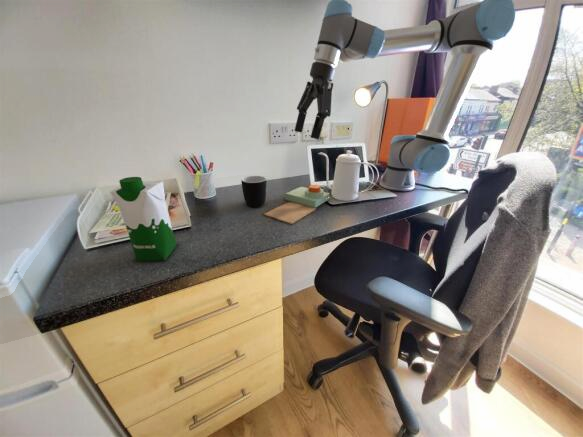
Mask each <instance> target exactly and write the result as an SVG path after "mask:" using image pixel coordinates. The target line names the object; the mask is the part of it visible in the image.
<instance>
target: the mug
mask: <svg viewBox="0 0 583 437" xmlns="http://www.w3.org/2000/svg"><path fill="white" fill-rule="evenodd" d="M240 183H241V189H242V194H243V197H244V202H245V204H246V206H247V207H248V208H252V209H259V208H261V207H263V206H264V205H265V203H266V197H267V178H266V177H265V176H262V175H247V176H244V177H242V178H241V182H240Z"/></svg>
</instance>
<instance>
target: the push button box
mask: <svg viewBox="0 0 583 437" xmlns="http://www.w3.org/2000/svg"><path fill="white" fill-rule="evenodd" d="M284 195H285V197H284V198H285V200H286V201H288V202H289V201H291V202H294V203H298V204H302V205H305V206H309V207H312V208H316V209H317V208H318V207H319V206H321V205H323V204H325V203H326V202H327V201H329V200H330V195H331V193H330V192H326V191H325V190H324V189H322V188H320V192H317V193H312V192H309V187H305V186H299V187H297V188H295V189H292V190H290V191H288V192H285V194H284ZM328 197H329V198H328ZM326 198H327V199H326Z"/></svg>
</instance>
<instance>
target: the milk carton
mask: <svg viewBox="0 0 583 437" xmlns="http://www.w3.org/2000/svg"><path fill="white" fill-rule="evenodd" d="M118 183H119V185H120V186H118V187H116V188H114V189H112V190H110V195H111V196H112V198H113V200H114V201H115V203H116V204H117V206H118V208H119V211H120V215H121V217H122V220H123V223H124V226H125V228H126V232H127V235H128V238H129V240H130V244H131V248H132V251H133V254H134V258H135V261H136V262H143V261H146V262H150V261H152V262H153V261H155V262H156V261H166V260H167V259H168V257H169V256H170V255H171V253H172V252H173V251H174V249H175V248H176V247H177V245H178V243H177V241H176V237H175V234H174V231H173V227H172V222H171V217H170V214H169V209H168V205H167V201H166V197H165V196H166V194H165V186H164V180H143V179H142V177H140V176H129V177H124V178H121V179H119V182H118Z"/></svg>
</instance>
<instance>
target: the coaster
mask: <svg viewBox="0 0 583 437" xmlns="http://www.w3.org/2000/svg"><path fill="white" fill-rule="evenodd" d="M316 210H317V207H316V208H314V207H310V206H307V205H303V204H299V203H296V202H292V201H289V200H288V201H287V202H285V203H283V204H281V205H279V206H277V207H275V208H273V209H270V210H269V211H267V212H264V213H263V215H264V216H266V217H269V218H272V219H275V220H277V221H281V222H283V223H286V224H290V225H294V224H295V223H297V222H298V221H300V220H301V219H303V218H305V217H306V216H308V215H309V214H311V213H312V212H315V211H316Z"/></svg>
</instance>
